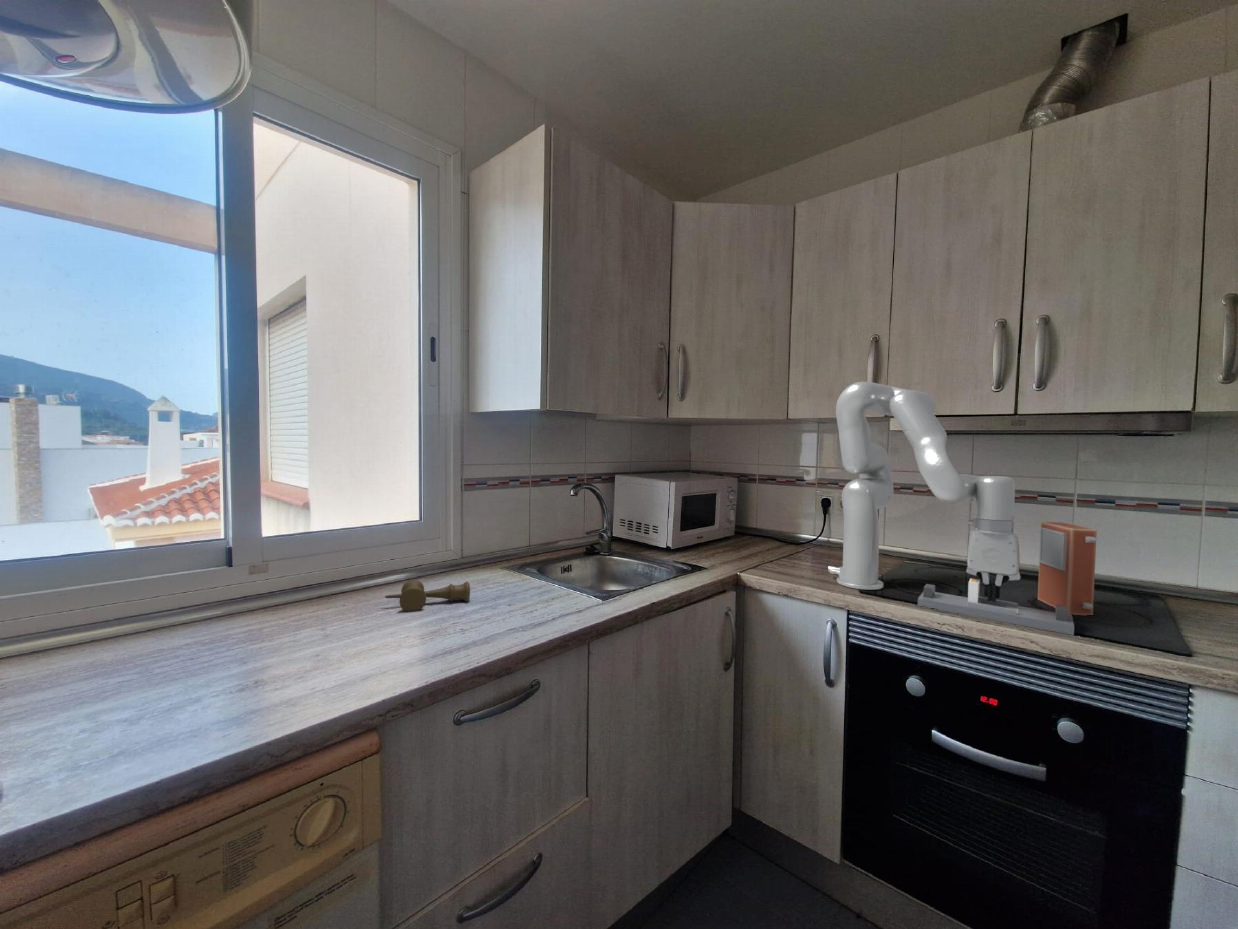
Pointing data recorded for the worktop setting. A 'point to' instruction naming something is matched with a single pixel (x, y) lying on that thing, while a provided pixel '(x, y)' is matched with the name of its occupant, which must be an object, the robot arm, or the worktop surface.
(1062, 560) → the orange rectangular block
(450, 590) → the kendama
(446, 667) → the worktop surface
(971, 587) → the breaker handle
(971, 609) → the strip
